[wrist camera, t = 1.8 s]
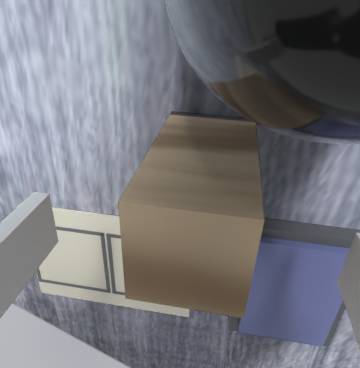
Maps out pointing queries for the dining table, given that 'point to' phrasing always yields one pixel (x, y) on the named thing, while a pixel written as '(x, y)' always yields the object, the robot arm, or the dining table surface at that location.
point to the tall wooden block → (194, 216)
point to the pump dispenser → (278, 61)
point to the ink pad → (296, 283)
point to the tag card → (90, 262)
